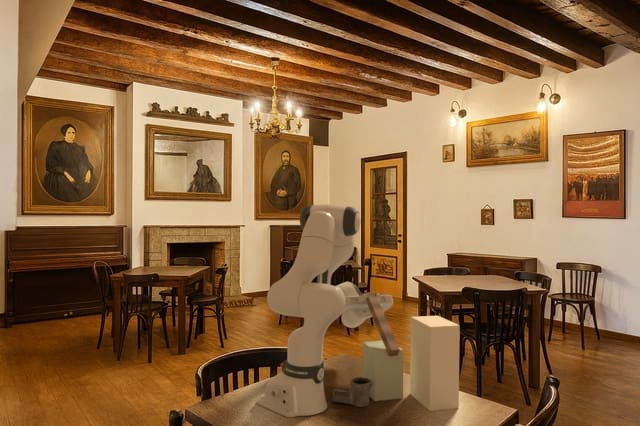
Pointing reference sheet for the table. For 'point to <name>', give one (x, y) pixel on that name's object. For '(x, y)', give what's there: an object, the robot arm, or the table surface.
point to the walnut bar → (382, 325)
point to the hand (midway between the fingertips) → (372, 295)
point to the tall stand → (434, 362)
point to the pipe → (355, 392)
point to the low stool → (382, 371)
